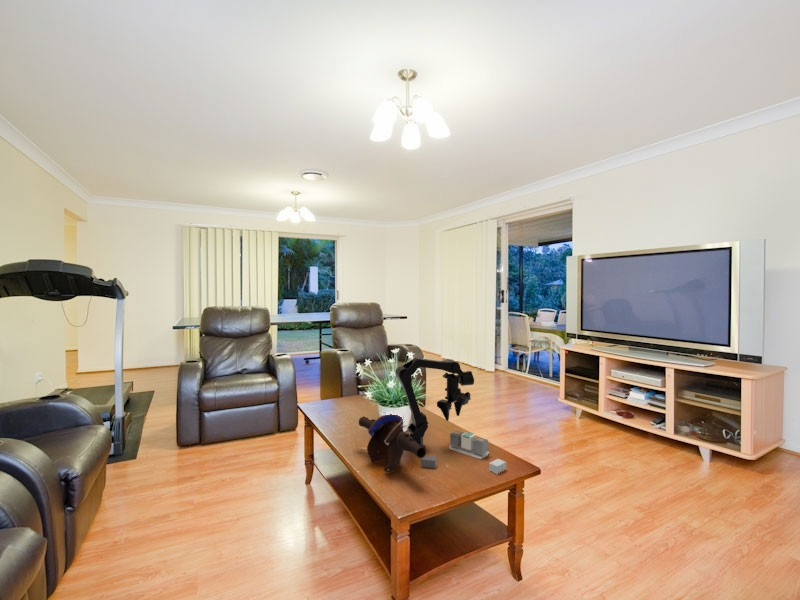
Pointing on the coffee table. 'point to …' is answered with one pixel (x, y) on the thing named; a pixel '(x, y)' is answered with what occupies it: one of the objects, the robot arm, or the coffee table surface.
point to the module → (468, 440)
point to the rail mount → (477, 452)
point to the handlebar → (389, 440)
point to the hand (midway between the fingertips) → (452, 418)
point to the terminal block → (497, 466)
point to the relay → (429, 462)
